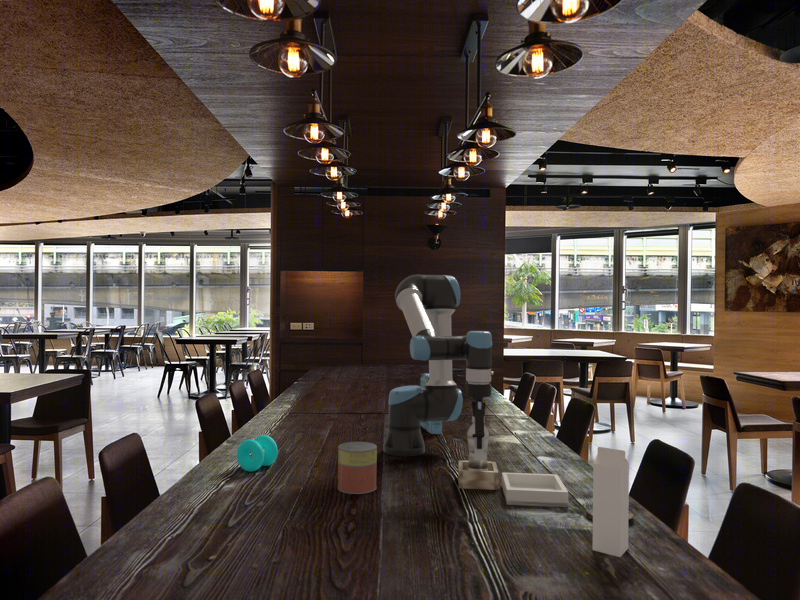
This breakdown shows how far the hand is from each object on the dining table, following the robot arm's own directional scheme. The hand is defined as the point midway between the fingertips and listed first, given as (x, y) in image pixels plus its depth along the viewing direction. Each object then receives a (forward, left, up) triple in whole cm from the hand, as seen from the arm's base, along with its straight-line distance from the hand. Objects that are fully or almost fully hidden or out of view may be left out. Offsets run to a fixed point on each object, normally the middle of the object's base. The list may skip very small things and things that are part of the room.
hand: (477, 453), depth 172 cm
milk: (+27, -44, -9) cm, 52 cm away
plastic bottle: (0, 0, -9) cm, 9 cm away
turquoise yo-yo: (-70, +6, -9) cm, 71 cm away
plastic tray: (+15, -10, -9) cm, 20 cm away
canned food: (-35, -9, -9) cm, 37 cm away
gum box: (-17, +73, -9) cm, 75 cm away
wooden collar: (0, 0, -9) cm, 9 cm away
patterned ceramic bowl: (+32, -24, -9) cm, 41 cm away
